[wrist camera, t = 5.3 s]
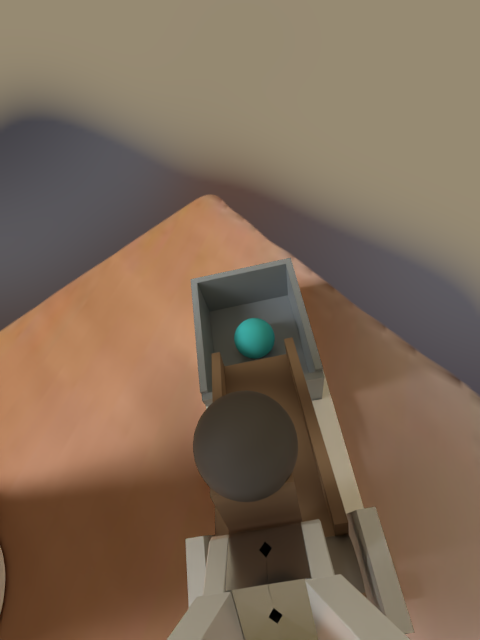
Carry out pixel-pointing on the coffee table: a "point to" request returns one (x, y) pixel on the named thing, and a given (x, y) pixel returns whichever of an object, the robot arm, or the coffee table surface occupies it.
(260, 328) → the ball
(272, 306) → the cup
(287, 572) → the robot arm
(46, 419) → the coffee table surface
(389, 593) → the catapult stand
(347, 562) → the lever
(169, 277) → the coffee table surface
